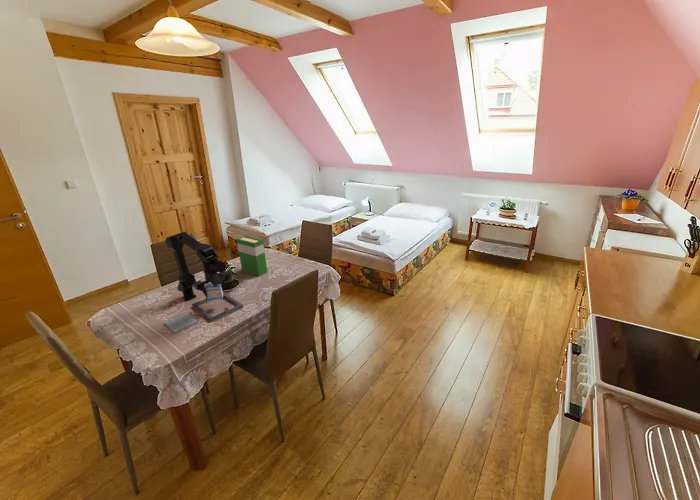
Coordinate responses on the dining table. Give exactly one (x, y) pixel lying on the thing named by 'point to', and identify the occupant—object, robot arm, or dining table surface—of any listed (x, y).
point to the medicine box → (214, 291)
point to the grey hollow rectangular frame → (226, 312)
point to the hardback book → (252, 255)
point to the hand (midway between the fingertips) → (214, 293)
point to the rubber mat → (181, 322)
